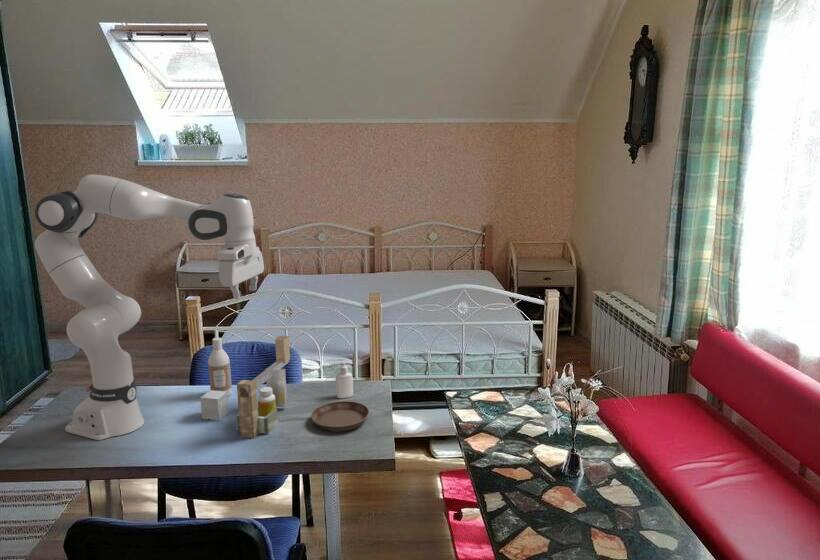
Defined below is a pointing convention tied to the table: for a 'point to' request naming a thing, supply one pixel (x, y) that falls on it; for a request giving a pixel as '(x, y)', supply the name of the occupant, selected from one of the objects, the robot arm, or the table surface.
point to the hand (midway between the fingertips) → (245, 294)
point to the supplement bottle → (266, 401)
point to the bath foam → (219, 368)
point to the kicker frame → (252, 412)
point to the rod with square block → (276, 372)
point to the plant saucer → (340, 416)
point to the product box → (214, 405)
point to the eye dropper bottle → (344, 383)
